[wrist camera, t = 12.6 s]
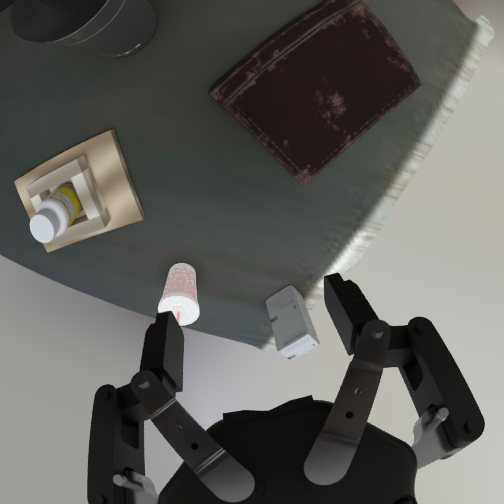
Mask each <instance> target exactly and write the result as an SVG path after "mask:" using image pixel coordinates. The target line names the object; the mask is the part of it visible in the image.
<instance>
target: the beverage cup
mask: <svg viewBox="0 0 504 504" xmlns="http://www.w3.org/2000/svg"><path fill="white" fill-rule="evenodd" d="M158 311H159V313H160V312H165V311H172V312H173V314H174V316H175V318H176V320H177V322H178V323H179V325H187V324H191V323H193V322H194V321H195V320H197V318H198V316H199V304H198V302H197V291H196V272H195V270H194V268H193V267H191V266H190V265H188V264H185V263H178V264H175V265H173V266H172V267H171V268H170V271H169V274H168V278H167V281H166V285H165V289H164V293H163V296H162V298H161V300H160V303H159V306H158Z"/></svg>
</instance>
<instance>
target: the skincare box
mask: <svg viewBox="0 0 504 504" xmlns="http://www.w3.org/2000/svg"><path fill="white" fill-rule="evenodd" d="M266 304H267V309H268V313H269V317H270V321H271V325H272V329H273V334H274V338H275V342H276V346H277V350H278V352H280V353H281V354H282V355H284V356H285V357H286V358H288V359H289V360H292V359H293V358H295V357H297V356H299V355H302V354H304V353H306V352H308V351H309V350H311V349H313V348H314V347H316V346H318V345H319V344H320V343H319V340H318V338H317V335H316V332H315V329H314V327H313V324H312V321H311V319H310V316H309V313H308V311H307V308H306V306H305V303H304V300H303V298H302V295H301V294H300V293H299V292H298V291H297V290H296V289H295V288H294V287H293V286H292V285H289V286H287V287H286V288H284V289H282V290H281V291H279V292H277V293H276V294H274V295H273V296H271V297H270V298H268V299H267V300H266Z"/></svg>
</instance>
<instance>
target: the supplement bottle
mask: <svg viewBox="0 0 504 504" xmlns="http://www.w3.org/2000/svg"><path fill="white" fill-rule="evenodd" d="M82 210H83V206H82V204H81V202H80V199H79V197H78V195H77V192H76V190H75V187H74V185H73V182H65V183H63V184H62V185H60V186H59V187H58V188H56V189H55V190H54V191H53V192H52V193H51V194H49V195H48V196H47V197H46V198H45V199H44V200H43V201H42V202H41V203H40V204H39V205H38V207H37V209H36V214H35V215H34V216H33V217H32V219H31V221H30V230H31V233H32V234H33V236H34V237H35V238H36V239H37V240H38V241H40V242H42V243H48V242H50V241H51V240H52V239H53V238H54V237H57V236H60V235H62V234H63V233H64V232H65V231H66V230H67V228H68V227H69V226H70V225H71V223H72V222H73V221H74V220H75V219H76V217H77V216H78V215H79V214H80V213H81V211H82Z"/></svg>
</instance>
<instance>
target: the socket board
mask: <svg viewBox="0 0 504 504" xmlns="http://www.w3.org/2000/svg"><path fill="white" fill-rule="evenodd" d="M65 182H73V185H74V187H75V190H76V192H77V195H78V197H79V199H80V202H81V204H82V206H83V210H82V211H81V213H80V214H79V215H78V216H77V217H76V219H75V220H74V221H73V222H72V223H71V225H70V226H69V227H68V228H67V230H66V231H65V232H64V233H63V234H62V235H60V236H57V237H54V238H53V239H52V240H51V241H50V242H48V243H43V245H44V247H45V249H46V250H47V252H50V251H53V250H55V249H58V248H61V247H63V246H66V245H69V244H72V243H74V242H77V241H80V240H83V239H86V238H89V237H91V236H94V235H97V234H100V233H103V232H106V231H109V230H112V229H115V228H118V227H121V226H124V225H127V224H131V223H134V222H137V221H140V220H143V218H144V216H145V214H144V212H143V209H142V207H141V204H140V202H139V199H138V197H137V194H136V191H135V189H134V186H133V183H132V180H131V178H130V175H129V172H128V169H127V167H126V164H125V161H124V158H123V155H122V152H121V149H120V146H119V143H118V140H117V137H116V134H115V130H114V129H112V130H109V131H107V132H105V133H102V134H100V135H98V136H96V137H94V138H91V139H89V140H87V141H85V142H83V143H81V144H79V145H77V146H75V147H73V148H71V149H69V150H67V151H65V152H63V153H61V154H59V155H58V156H56V157H54V158H52V159H50V160H49V161H47V162H45V163H43V164H42V165H40V166H38V167H37V168H35V169H33V170H32V171H30V172H28V173H27V174H25V175H24V176H22V177H20V178H19V179H17V180H16V181H14V183H15V185H16V188H17V190H18V193H19V195H20V197H21V200H22V202H23V204H24V206H25V209H26V211H27V213H28V215H29V217H30V219H32V217H33V216H34V215H35V214H36V209H37V207H38V205H39V204H40V203H41V202H42V201H43V200H44V199H45V198H46V197H47V196H48V195H49V194H51V193H52V192H53V191H54V190H55V189H56V188H58V187H59V186H60V185H62V184H63V183H65Z"/></svg>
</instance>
